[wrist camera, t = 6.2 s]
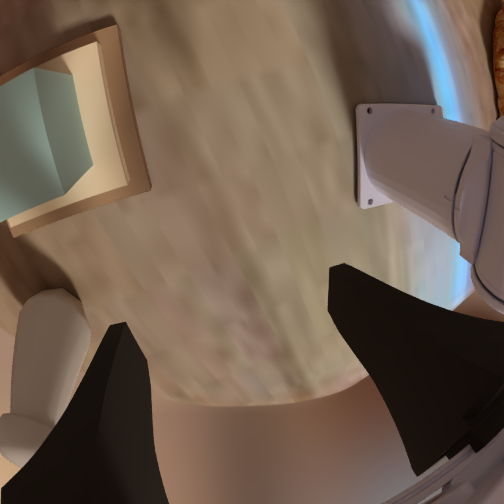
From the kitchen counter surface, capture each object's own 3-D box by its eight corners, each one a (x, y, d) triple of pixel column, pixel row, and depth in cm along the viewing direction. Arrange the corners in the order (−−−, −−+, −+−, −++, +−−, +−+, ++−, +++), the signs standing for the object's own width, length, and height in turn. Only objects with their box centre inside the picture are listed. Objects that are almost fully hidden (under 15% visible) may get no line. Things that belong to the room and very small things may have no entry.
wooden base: (119, 29, 12) (113, 19, 10) (151, 184, 17) (150, 197, 15) (-19, 93, 10) (-39, 96, 8) (20, 230, 15) (6, 246, 13)
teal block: (72, 75, 10) (33, 67, 6) (93, 164, 13) (64, 194, 9) (-4, 113, 10) (-56, 126, 5) (19, 194, 12) (-24, 233, 8)
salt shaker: (18, 280, 17) (-42, 430, 6) (81, 272, 18) (42, 447, 7) (45, 337, 20) (19, 478, 9) (103, 333, 21) (97, 488, 10)
